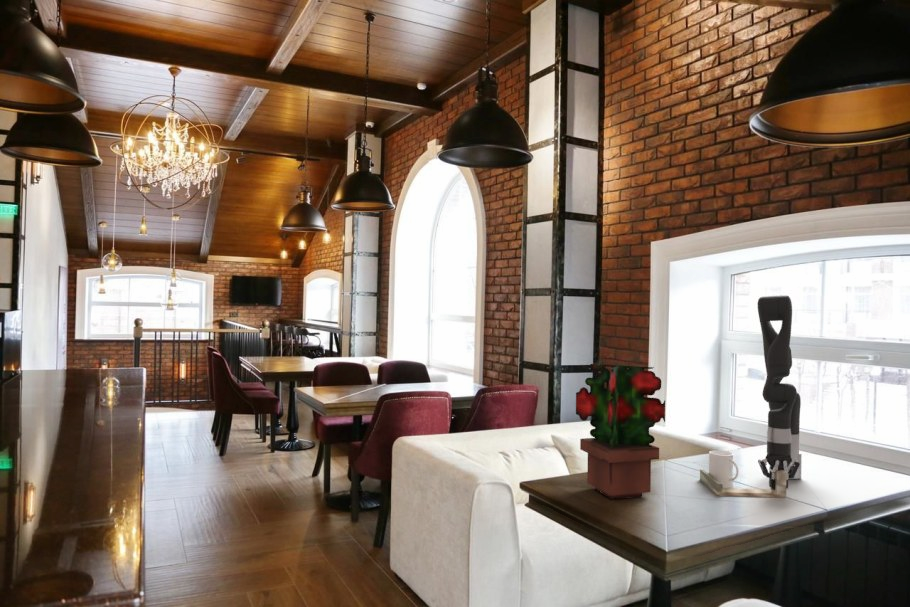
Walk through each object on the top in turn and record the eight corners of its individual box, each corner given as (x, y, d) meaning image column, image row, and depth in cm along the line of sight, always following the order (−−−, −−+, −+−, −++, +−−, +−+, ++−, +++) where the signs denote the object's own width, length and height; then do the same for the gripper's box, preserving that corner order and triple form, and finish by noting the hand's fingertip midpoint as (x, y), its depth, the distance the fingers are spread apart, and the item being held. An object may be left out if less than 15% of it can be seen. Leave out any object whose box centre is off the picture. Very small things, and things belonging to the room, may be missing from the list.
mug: (745, 490, 223) (745, 456, 223) (726, 492, 220) (727, 458, 220) (721, 481, 234) (721, 449, 234) (703, 483, 231) (703, 451, 231)
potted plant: (664, 500, 211) (665, 368, 211) (606, 505, 204) (607, 369, 204) (628, 482, 232) (629, 362, 232) (575, 486, 226) (576, 363, 226)
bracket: (762, 481, 233) (762, 457, 233) (786, 497, 214) (786, 471, 214) (699, 480, 234) (700, 456, 234) (718, 495, 215) (718, 469, 215)
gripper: (794, 438, 220) (794, 487, 220) (753, 437, 221) (753, 485, 221) (805, 443, 212) (804, 493, 212) (762, 441, 213) (762, 492, 213)
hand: (778, 489), depth 217 cm, fingers closed on bracket, 3 cm apart
